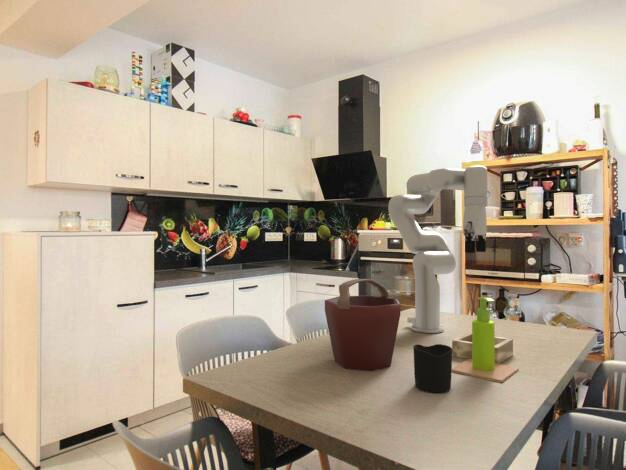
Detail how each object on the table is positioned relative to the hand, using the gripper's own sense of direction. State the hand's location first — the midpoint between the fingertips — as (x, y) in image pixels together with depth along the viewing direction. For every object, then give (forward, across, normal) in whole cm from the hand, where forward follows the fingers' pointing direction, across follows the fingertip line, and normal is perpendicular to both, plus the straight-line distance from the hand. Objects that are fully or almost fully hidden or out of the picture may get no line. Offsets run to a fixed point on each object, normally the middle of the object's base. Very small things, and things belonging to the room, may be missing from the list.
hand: (475, 252), depth 148 cm
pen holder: (+32, +47, +7) cm, 58 cm away
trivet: (+32, +25, +12) cm, 43 cm away
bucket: (+32, +41, -19) cm, 56 cm away
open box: (+32, +10, +6) cm, 34 cm away
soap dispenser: (+32, +25, +12) cm, 42 cm away
